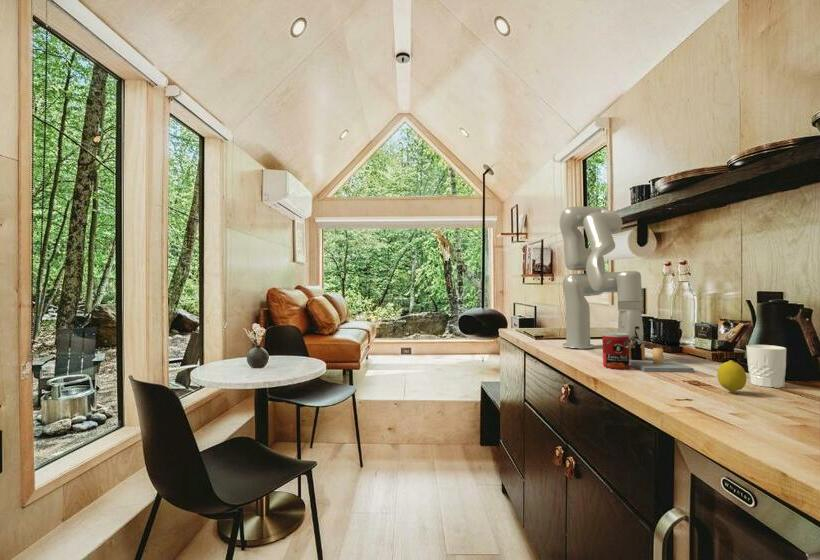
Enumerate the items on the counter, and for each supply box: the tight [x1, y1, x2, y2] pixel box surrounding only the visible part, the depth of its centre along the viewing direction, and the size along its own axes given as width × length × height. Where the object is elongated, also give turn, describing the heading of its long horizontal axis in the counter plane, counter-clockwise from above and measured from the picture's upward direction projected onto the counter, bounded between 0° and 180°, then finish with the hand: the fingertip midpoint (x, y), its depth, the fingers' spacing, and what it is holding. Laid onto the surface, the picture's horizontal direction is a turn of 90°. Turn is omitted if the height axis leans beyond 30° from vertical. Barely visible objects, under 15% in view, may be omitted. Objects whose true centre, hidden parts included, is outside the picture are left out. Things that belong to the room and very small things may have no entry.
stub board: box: [629, 347, 695, 373], centre depth 127 cm, size 13×14×6 cm
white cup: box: [745, 344, 787, 389], centre depth 105 cm, size 8×8×10 cm
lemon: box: [716, 360, 747, 394], centre depth 97 cm, size 6×6×8 cm
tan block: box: [629, 341, 646, 360], centre depth 138 cm, size 6×6×6 cm
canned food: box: [601, 331, 630, 371], centre depth 129 cm, size 8×8×11 cm
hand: (632, 357), depth 138 cm, fingers closed on tan block, 6 cm apart
